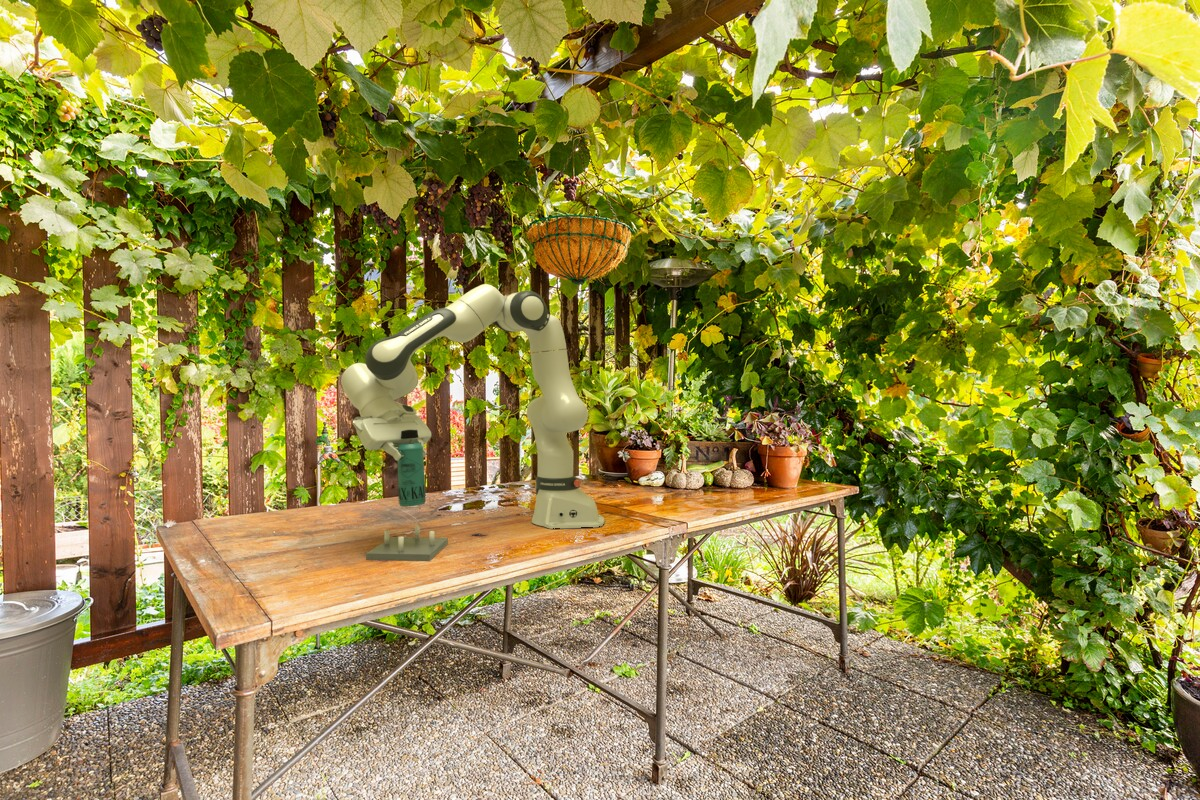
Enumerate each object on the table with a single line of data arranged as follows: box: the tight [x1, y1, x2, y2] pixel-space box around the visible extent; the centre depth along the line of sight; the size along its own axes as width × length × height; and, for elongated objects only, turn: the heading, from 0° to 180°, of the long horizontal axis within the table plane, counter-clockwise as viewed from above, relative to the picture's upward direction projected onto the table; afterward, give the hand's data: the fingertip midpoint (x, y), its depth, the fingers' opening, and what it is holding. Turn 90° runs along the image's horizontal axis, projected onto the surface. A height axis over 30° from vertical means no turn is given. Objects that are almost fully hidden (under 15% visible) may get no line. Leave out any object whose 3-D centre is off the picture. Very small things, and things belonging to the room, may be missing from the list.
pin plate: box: [365, 524, 449, 562], centre depth 137 cm, size 15×15×5 cm
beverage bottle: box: [396, 430, 427, 508], centre depth 137 cm, size 6×7×20 cm
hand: (412, 457), depth 137 cm, fingers closed on beverage bottle, 6 cm apart
